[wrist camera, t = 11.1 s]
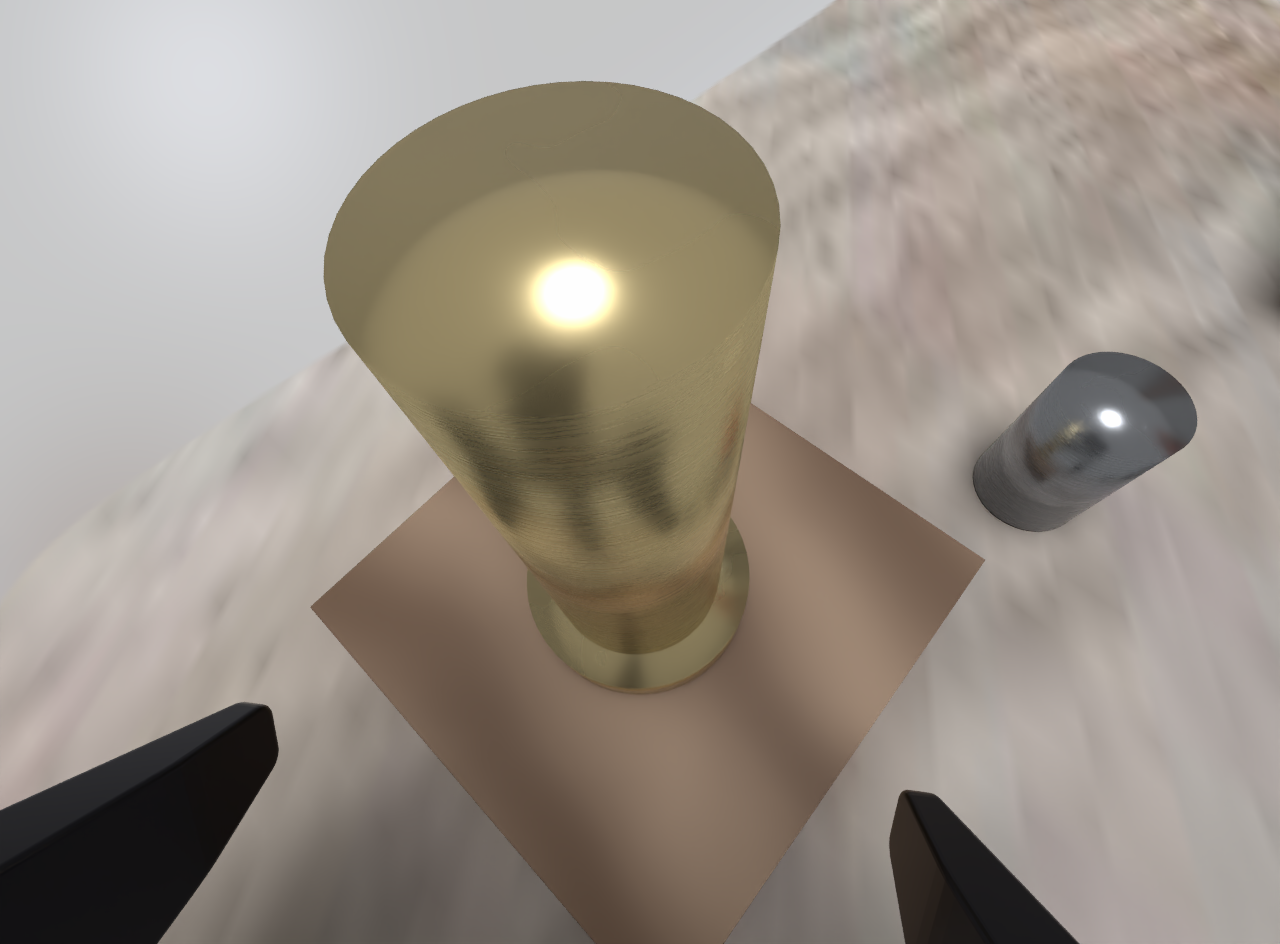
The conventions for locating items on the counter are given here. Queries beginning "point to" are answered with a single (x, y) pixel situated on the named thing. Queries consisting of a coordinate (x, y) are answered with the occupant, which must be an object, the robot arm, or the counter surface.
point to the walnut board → (662, 722)
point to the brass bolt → (578, 350)
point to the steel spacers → (1084, 440)
